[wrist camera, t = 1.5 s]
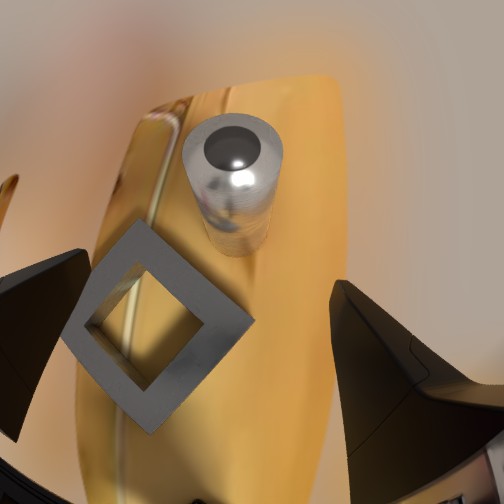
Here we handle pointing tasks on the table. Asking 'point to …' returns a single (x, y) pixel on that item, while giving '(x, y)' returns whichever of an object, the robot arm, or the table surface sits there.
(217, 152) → the ring
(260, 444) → the table surface
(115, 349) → the jig
